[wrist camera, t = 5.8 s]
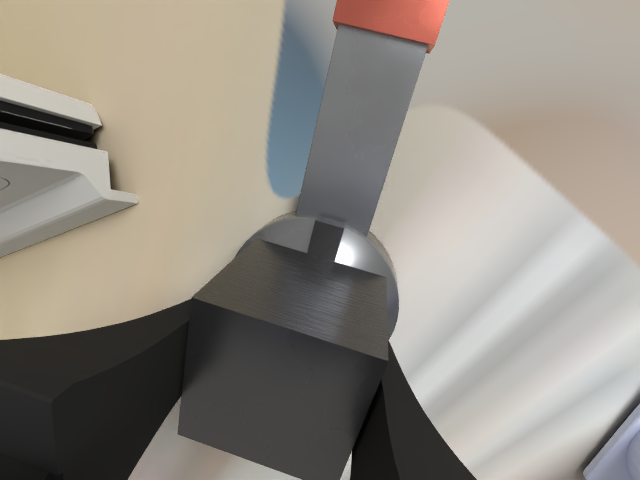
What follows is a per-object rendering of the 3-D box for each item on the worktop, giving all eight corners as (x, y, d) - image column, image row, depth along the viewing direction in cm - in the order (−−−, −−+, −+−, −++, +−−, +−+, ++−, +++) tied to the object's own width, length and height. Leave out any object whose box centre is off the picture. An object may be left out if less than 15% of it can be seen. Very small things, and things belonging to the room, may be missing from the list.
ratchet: (651, -354, 8) (932, -856, 4) (369, 371, 17) (365, 450, 13) (354, -393, 9) (329, -857, 5) (231, 326, 18) (185, 387, 14)
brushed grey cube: (386, 277, 13) (388, 361, 8) (349, 379, 15) (334, 491, 11) (257, 238, 14) (192, 297, 9) (238, 342, 16) (177, 434, 11)
